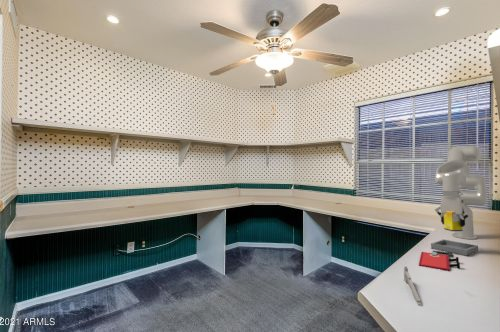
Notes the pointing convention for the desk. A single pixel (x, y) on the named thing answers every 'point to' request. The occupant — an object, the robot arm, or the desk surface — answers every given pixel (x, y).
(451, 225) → the supplement box
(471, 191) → the robot arm
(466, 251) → the tray
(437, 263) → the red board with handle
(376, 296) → the desk surface
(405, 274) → the caliper
